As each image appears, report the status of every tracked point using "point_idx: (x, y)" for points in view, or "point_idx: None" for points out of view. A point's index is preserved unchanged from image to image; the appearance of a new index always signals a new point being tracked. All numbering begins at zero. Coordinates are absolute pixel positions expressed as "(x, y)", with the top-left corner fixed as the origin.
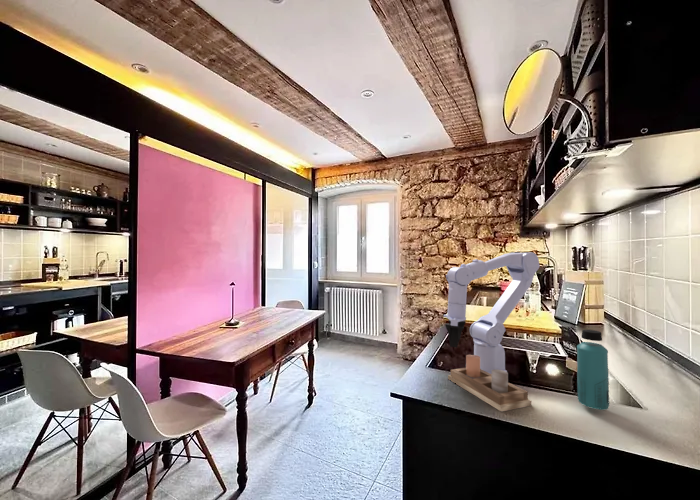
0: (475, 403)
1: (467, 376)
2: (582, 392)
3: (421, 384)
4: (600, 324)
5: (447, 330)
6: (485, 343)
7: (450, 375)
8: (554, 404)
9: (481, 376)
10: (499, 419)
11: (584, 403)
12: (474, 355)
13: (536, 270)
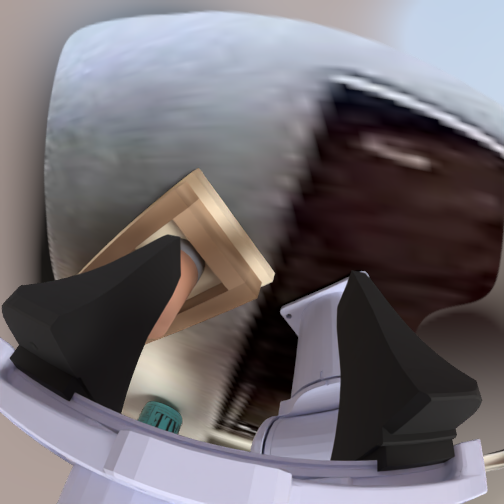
0: (77, 234)
1: (133, 247)
2: (144, 416)
3: (121, 77)
4: None
5: (54, 282)
6: (287, 411)
7: (194, 181)
8: (157, 374)
9: (205, 294)
10: (52, 264)
11: (148, 403)
12: (158, 325)
13: None
